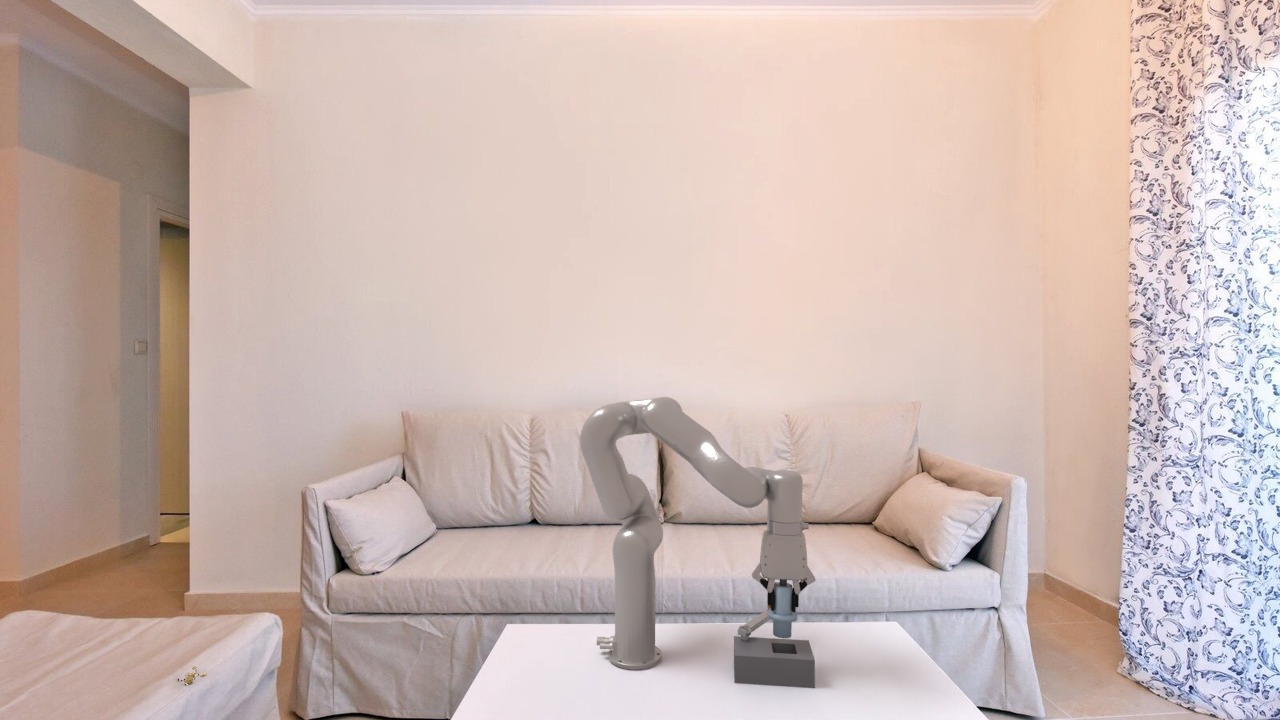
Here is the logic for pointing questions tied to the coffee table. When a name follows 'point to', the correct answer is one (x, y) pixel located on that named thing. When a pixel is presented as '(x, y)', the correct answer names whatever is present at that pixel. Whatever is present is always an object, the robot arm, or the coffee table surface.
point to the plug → (782, 610)
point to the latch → (754, 623)
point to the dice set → (192, 675)
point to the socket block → (773, 662)
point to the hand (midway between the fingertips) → (782, 608)
